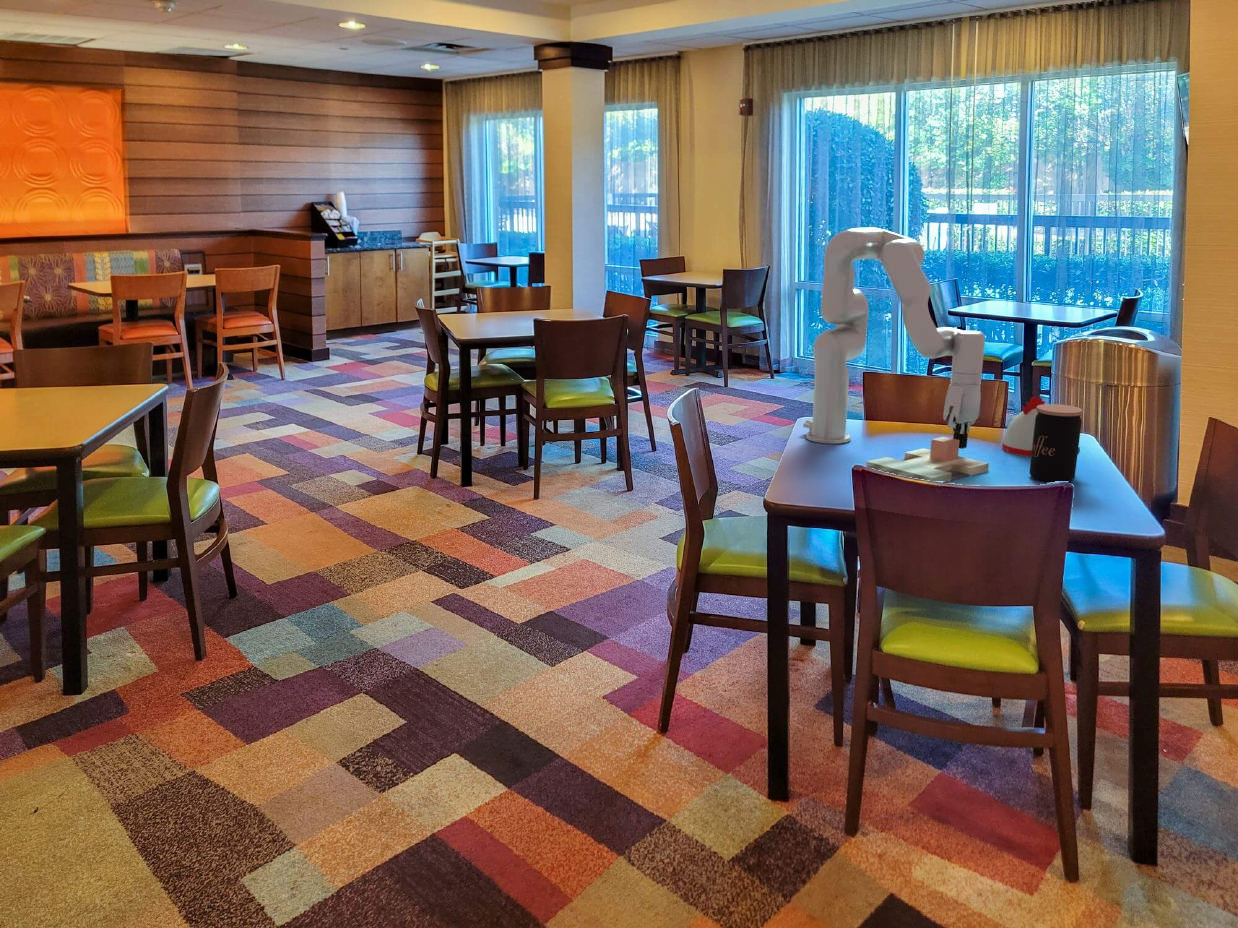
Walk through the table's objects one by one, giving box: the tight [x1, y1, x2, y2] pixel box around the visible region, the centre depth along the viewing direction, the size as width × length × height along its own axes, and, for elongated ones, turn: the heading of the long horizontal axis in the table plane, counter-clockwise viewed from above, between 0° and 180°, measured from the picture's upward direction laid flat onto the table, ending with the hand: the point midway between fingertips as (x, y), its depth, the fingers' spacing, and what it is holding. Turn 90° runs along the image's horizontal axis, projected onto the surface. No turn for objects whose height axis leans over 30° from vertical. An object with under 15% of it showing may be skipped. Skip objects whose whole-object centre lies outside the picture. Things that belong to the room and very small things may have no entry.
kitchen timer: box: [1001, 396, 1046, 457], centre depth 291 cm, size 14×14×15 cm
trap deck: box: [865, 447, 990, 482], centre depth 270 cm, size 20×24×2 cm
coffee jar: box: [1028, 403, 1084, 484], centre depth 261 cm, size 11×11×18 cm
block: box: [930, 436, 960, 462], centre depth 274 cm, size 5×5×5 cm
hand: (959, 447), depth 278 cm, fingers closed
